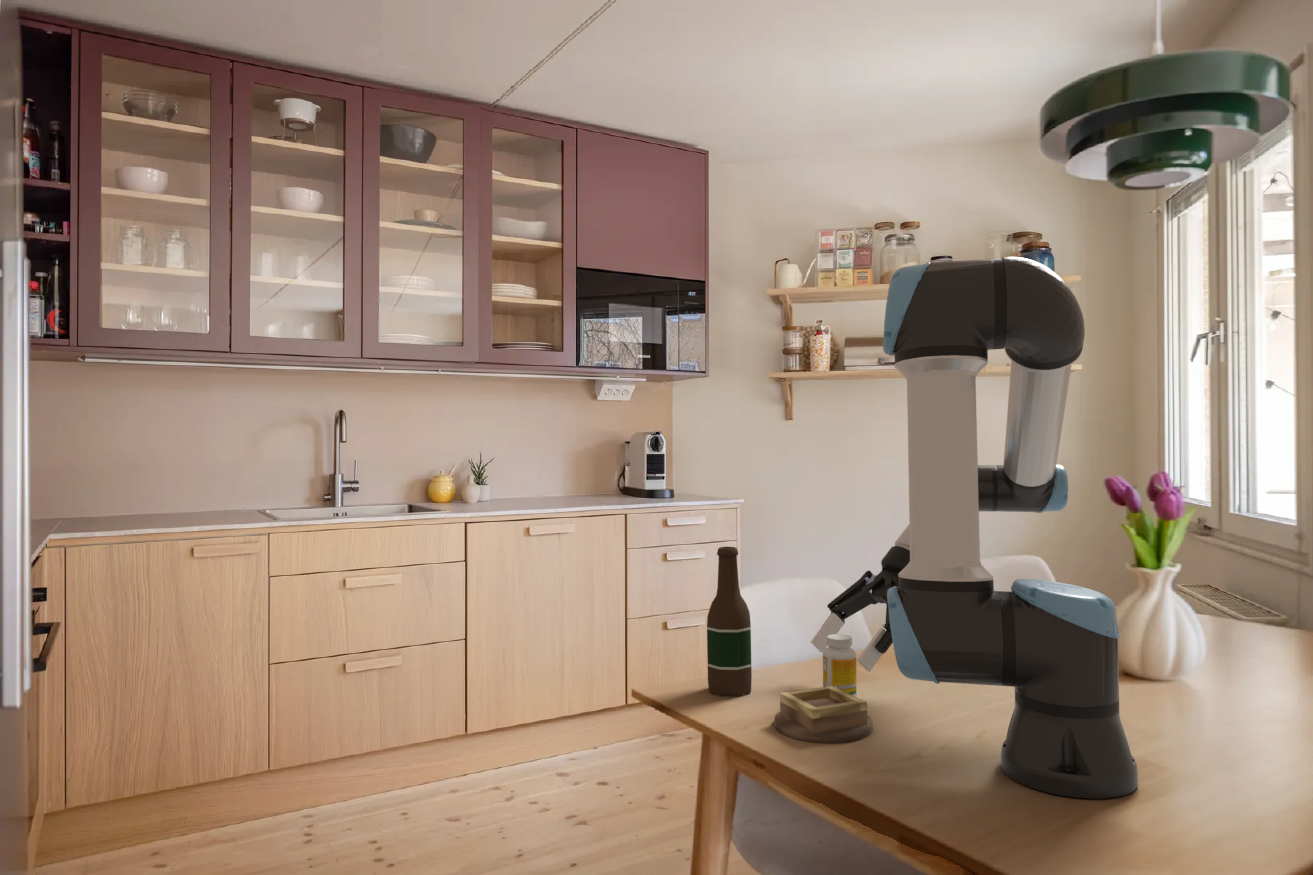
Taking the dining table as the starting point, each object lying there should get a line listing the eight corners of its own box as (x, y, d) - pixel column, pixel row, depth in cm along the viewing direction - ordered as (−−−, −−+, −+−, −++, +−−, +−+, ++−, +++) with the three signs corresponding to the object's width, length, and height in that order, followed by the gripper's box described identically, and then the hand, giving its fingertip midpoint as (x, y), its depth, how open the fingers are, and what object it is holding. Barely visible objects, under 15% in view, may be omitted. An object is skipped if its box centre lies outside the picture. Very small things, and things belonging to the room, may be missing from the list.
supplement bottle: (816, 695, 141) (815, 636, 141) (837, 688, 145) (836, 631, 145) (842, 702, 137) (841, 641, 137) (863, 695, 140) (862, 636, 140)
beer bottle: (715, 699, 140) (713, 551, 140) (700, 686, 147) (698, 546, 147) (760, 695, 142) (757, 548, 142) (743, 682, 149) (740, 543, 149)
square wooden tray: (892, 734, 122) (892, 704, 122) (807, 748, 116) (806, 717, 116) (836, 706, 135) (836, 679, 135) (757, 718, 129) (756, 690, 129)
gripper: (976, 583, 136) (900, 690, 131) (880, 563, 160) (812, 653, 154) (948, 552, 135) (870, 659, 129) (855, 536, 158) (785, 627, 152)
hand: (838, 656), depth 141 cm, fingers open, 13 cm apart
